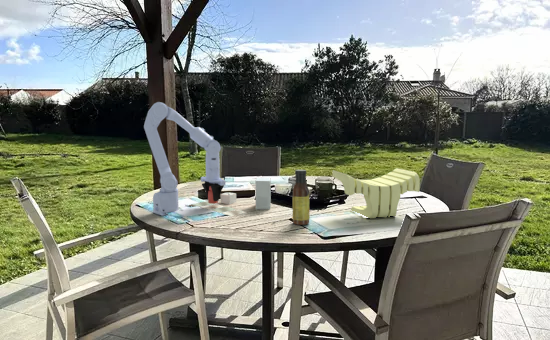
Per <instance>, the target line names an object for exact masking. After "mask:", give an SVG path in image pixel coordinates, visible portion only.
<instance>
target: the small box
mask: <svg viewBox="0 0 550 340" xmlns="http://www.w3.org/2000/svg"><path fill="white" fill-rule="evenodd" d="M271 185H272V183H271V178H270V177H256V178H255V210H271V208H272V207H271V205H272V204H271V203H272V199H271V196H272V193H271V190H272V189H271V187H272V186H271Z"/></svg>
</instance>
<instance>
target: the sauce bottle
mask: <svg viewBox="0 0 550 340" xmlns="http://www.w3.org/2000/svg"><path fill="white" fill-rule="evenodd" d="M294 173H295V183H294V185H293V187H292V222H293V224H294V225H297V226H305V225H309V223H310V219H311V218H310V206H311V205H310V190H309V186H308V183H307V170H306V169H295V170H294Z"/></svg>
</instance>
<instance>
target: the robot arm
mask: <svg viewBox="0 0 550 340" xmlns="http://www.w3.org/2000/svg"><path fill="white" fill-rule="evenodd" d="M164 119H166V120H169V121H173V122H175V123H176V124H177V125H178V126H179V127H181V128H182V129H184V130H185V131H186V132H187V133H189V137H190V139H191V140H192V141H194V143H196V144H198V145H199V146H200V148H203V149H204V150H205V176H201V177H200V182H202V184H201V186H202V187H203V189H204V192H205V196H206V199H207V200H208V191H209V187H210V186H211V189H212V192H213V200H214V201H218V202H219V199H220V198H221V194H222V192H223V191H222V190H223V188H224V187H225V186H226V180H225V179H222V177H220V175H221V173H220V169H221V168H220V166H221V165H220V164H221V163H220V152H221V149H222V146H221V145H220V144H221V143H220V142H218V140H215V139H214V136H213V135H210V134H208V132H206V129H204V128H203V127H200V126H197V127H195V126H194V125H192V124H191V123H190V122H189V121H188V120H187V119H186V118H184V117H183V115H181V114H180V113H178V111H176V110H175V109H174V108H172V107H170V106H168V105H167V104H166V103H164V102H160V101H157V102H155V103H153V104H152V106H151V107H150V109H149V110H148V111H147V114H146V117H145V121H144V125H143V129H144V131H145V134H146V138H147V140H148V141H147V142H148V143H149V147H150V149H151V152H152V155H153V158H154V160H155V163H156V166H157V170H158V172H159V175H160V177H159V183H160V186H161V187H160V188H159V191H158V192H154V193H153V195H152V204H153V205H152V206H153V207H152V208H153V211H152V213H153V214H156V215H159V216H162V217H163V216H167V215H169V213H172V212H177V211H179V189H178V185H179V184H178V183H179V182H178V180H177V178H176V176H175V175H174V173H172V169H171V168H170V167H171V166H170V164H169V161H168V157H167V155H166V151H165V149H164V146H163V144H162V140H161V137H160V134H159V132H158V127H159V126H160V124H161V123H162V121H163V120H164ZM203 182H204V183H203Z"/></svg>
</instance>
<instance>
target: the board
mask: <svg viewBox="0 0 550 340" xmlns="http://www.w3.org/2000/svg"><path fill="white" fill-rule="evenodd" d="M188 206H192V207H191V208H193V207H200V208H202V209H205V210H209V211H213V212H216V213H220V214H223V215H226V216H229V217H234V216H238V215H242V214H247V213H248V212H247V211H245V210H241V209H237V208H233V207H229V206H225V205H222V204H219V203H214V204H211V203H208V200H207V201H201V202H196V203H192V204H191V203H190V204H189V205H188Z"/></svg>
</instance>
